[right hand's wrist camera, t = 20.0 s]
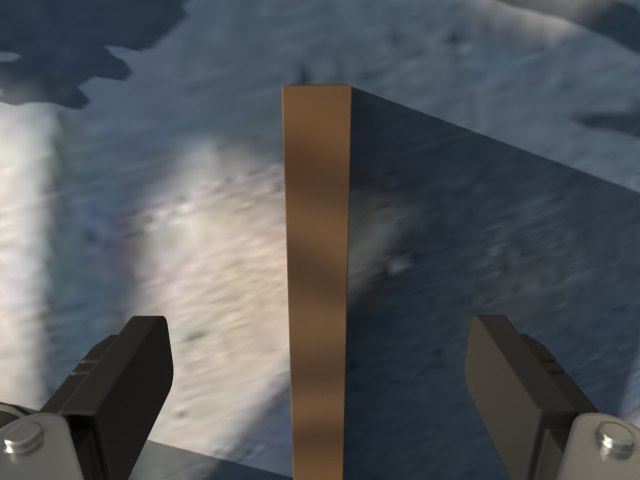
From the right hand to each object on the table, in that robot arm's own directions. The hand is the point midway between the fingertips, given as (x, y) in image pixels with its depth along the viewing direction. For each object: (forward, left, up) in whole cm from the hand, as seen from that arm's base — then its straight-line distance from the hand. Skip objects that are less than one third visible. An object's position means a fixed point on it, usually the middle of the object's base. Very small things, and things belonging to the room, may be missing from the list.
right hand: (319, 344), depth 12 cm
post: (+21, -23, -28) cm, 42 cm away
